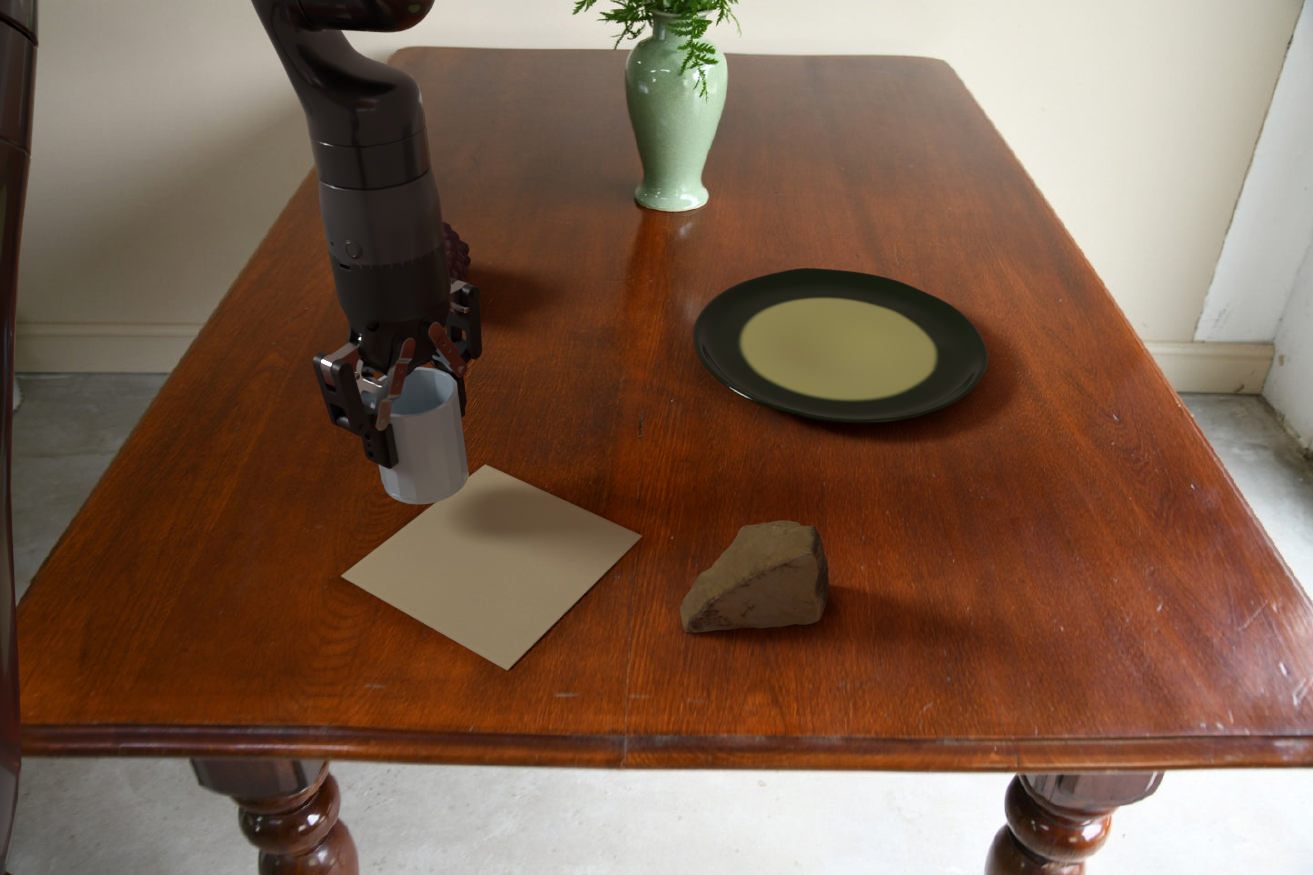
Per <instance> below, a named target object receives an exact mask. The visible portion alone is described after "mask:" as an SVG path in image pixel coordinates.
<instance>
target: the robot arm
mask: <svg viewBox="0 0 1313 875" xmlns="http://www.w3.org/2000/svg"><path fill="white" fill-rule="evenodd" d="M250 2H251V4H252V7H253V9H254V11H255V13H256V15H257V17H258V19H259V21H260V23H261V25H262V27H263V29H264V31H265V33H266V35H267V37H268V39H269V40H270V42H271V45H272V46H273V48H274V51H275V53H276V55H277V57H278V59H279V62H280V63H281V65H282V67H283V69H284V71H285V73H286V76H287V78H288V79H289V82H290V84H291V86H292V88H293V91H294V93H295V94H296V97H297V99H298V102H299V103H300V106H301V108H302V111H303V113H304V116H305V120H306V126H307V131H308V137H309V142H310V147H311V153H312V155H313V162H314V167H315V171H316V177H317V183H318V202H319V211H320V216H321V222H322V227H323V231H324V236H325V237H324V238H325V242H326V246H327V252H328V257H329V261H330V265H331V271H332V275H333V280H334V281H333V282H334V285H335V286H334V287H335V290H336V296H337V299H338V303H339V306H340V308H341V309H342V312H343V313H344V314H345V317H346V319H347V321H348V332H347V336H346V344H345V345H343V346H341V347H340V348H338V349H337V350H335V351H334V352H333V353H331V354H328V353H326V352H323V351H320V352H317V353H316V354H315V355H314V356H313V359H312V367H313V370H314V373H315V376H316V379H317V382H318V386H319V389H320V392H321V395H322V398H323V401H324V404H325V406H326V410H327V413H328V416H329V419H330V420H329V421H330V423H331V424H332V425H334V426H336V427H338V428H342V429H344V430H346V431H347V432H350V433H352V434H353V435H355V436H357V437H361V441H362V445H363V451H364V456H365V457H366V458H367V460H368V461H370V462H373V463H375V464H377V465H378V466H379V465H381V466H383V467H385V468H387V469H391V468H393V467H394V466H396V465H397V464H398V463H399V460H398V455H397V449H396V444H395V438H394V433H393V427H392V425H391V424H389V420H390V416H391V411H392V407H393V403H394V400H395V399H398V398H399V397H400V396H401V393H402V389H403V384H404V380H405V377H407V376H408V375H410V374H411V373H412V372H413V371H414V370H415V369H416V368H417V367H422V366H425V365H427V364H430V365H431V366H432V368H433V369H438V370H441V371H443V372H445V373H448V374H450V375H451V376H452V377H453V379H454V380H455V381H456V382H457V387H458V394H459V402H460V409H461V417H462V419H463V418H464V417H466V407H467V401H468V399H467V395H466V394H467V393H466V392H467V391H466V383H465V377H464V376H465V375H466V373H467V371H468V364H469V363H470V361H471V360H474V361H476V360H478V359H480V357H481V355H482V354H483V337H482V319H481V297H480V296H481V295H480V288H479V287H478V286H476V285H473V284H471V283H468V282H466V283H465V282H462V281H459V280H456V279H454V278H450V274H449V266H448V259H447V251H446V243H445V236H444V228H443V222H444V221H443V212H442V205H441V199H440V198H441V197H440V194H439V189H438V186H437V183H436V180H435V179H436V178H435V176H434V173H433V172H434V170H433V167H432V159H431V153H430V145H429V138H428V136H429V135H428V129H427V122H426V114H425V113H426V112H425V106H424V101H423V100H424V99H423V96H422V91H421V89H420V86H419V84H418V82H417V80H416V79H415V78H414V77H413V76H412V75H411V74H410V73H408V72H407V71H406V70H403V69H401V68H398V67H396V66H393V65H390V64H387V63H385V62H381V61H378V60H375V59H372V58H370V57H368V56H365V55H364V54H362V53H361V52H359V51H357V49H355V48H354V46H352V44H351V43H350V41H349V40H348V38H347V37H346V35H345V34H344V32H343V31H347V32H366V33H383V34H384V33H386V34H390V33H400V32H404V31H407V30H410V29H412V28H414V27H415V26H417V25H418V24H419V23H421V22H422V21H423V20H425V18H426V17H427V16H428V14H429V13H430V12H431V10H432V8H433V6H434V4H435V2H436V0H250ZM39 46H40V0H0V875H13V874H12V873H10V872H9V871H7V868H8V864H9V861H10V857H11V854H12V850H13V847H14V846H13V845H14V841H15V834H16V828H17V820H18V811H19V805H20V796H21V795H20V794H21V784H22V783H21V782H22V754H23V753H22V752H23V750H22V749H23V748H22V747H23V746H22V745H23V744H22V743H23V742H22V716H21V713H22V712H21V711H22V710H21V686H20V685H21V684H20V667H19V666H20V664H19V663H20V662H19V645H18V644H19V643H18V622H17V620H18V619H17V604H16V602H17V601H16V599H17V598H16V583H15V581H16V579H15V557H14V538H13V537H14V535H13V534H14V533H13V509H12V508H13V506H12V465H13V464H12V462H13V461H12V455H13V420H14V419H13V417H14V395H15V394H14V393H15V392H14V390H15V364H16V336H17V335H16V334H17V316H18V297H19V296H18V294H19V277H20V276H19V275H20V260H21V258H20V257H21V250H22V249H21V248H22V237H23V229H24V228H23V226H24V217H25V211H26V202H27V194H28V188H29V179H30V170H31V164H32V163H31V162H32V159H31V156H32V146H33V134H34V132H33V131H34V117H35V102H36V90H37V86H36V85H37V74H38V73H37V71H38V58H39V57H38V56H39V55H38V48H39ZM444 328H445V329H446V330H445V329H444ZM463 331H464V334H465V338H463ZM374 372H376V373H378V374H381V375H383V376H384V375H385V376H387V380H386V383H384V382H382V381H379V380H378V379H377V378H376V377H375V374H374ZM373 394H374V395H376V397H377V401H376V405H375V409H373V408H371V403H372V398H373Z"/></svg>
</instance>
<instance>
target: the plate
mask: <svg viewBox="0 0 1313 875" xmlns="http://www.w3.org/2000/svg"><path fill="white" fill-rule="evenodd" d="M692 343H693V347H694V350H695V352H696V355H697V357H698V359H699V361H700V362H701V364H702V365H703V366H704V368H705V369H706V370H707V371H708V372H709V373H710V374H711V375H712V377H714V378H715V379H716V380H717V381H719V382H720V383H721V384H722V385H723V386H725V387H726V388H727V389H729V390H731V391H733V392H734V393H735V394H738V395H739V396H741V397H743V398H744V399H747V400H749V401H751V402H753V403H756V404H758V405H761V406H764V407H767V408H769V409H772V410H776V411H780V412H784V413H787V414H791V415H794V416H799V417H802V418H806V419H811V420H816V421H822V422H827V423H836V424H853V425H854V424H855V425H856V424H857V425H859V424H861V425H865V424H866V425H867V424H883V423H884V424H886V423H893V422H901V421H908V420H911V419H917V418H920V417H924V416H928V415H931V414H933V413H936V412H939V411H942V410H944V409H947V408H949V407H951V406H953V405H954V404H957V403H958V402H960V401H961V400H963V399H965V397H966V396H968V395H969V394H970V393H971V392H972V391H973V390H974V389H975V388H976V387H977V385H978V384H979V383H980V382H981V380H982V378H983V377H984V375H985V373H986V370H987V368H988V365H989V352H988V349H987V346H986V343H985V341H984V339H983V336H982V335H981V333H980V331H979V330H978V328H977V327H976V325H975V324H973V322H972V321H971V320H970V319H969V317H968V316H966V315H965V314H964V313H963V312H962V311H960V310H959V309H958V308H956V307H955V306H953V305H952V304H950V303H949V302H947V301H945V300H943V299H941V298H939V297H937V296H936V295H933V294H930V293H928V292H926V291H924V290H921V289H919V288H917V287H915V286H912V285H910V284H907V283H905V282H902V281H899V280H896V279H893V278H890V277H886V276H880V275H877V274H872V273H866V272H861V271H852V270H842V269H841V270H840V269H831V268H817V267H814V268H813V267H800V268H793V269H787V270H782V271H777V272H773V273H768V274H764V275H759V276H757V277H753V278H750V279H747V280H744V281H741V282H739V283H737V284H735V285H731V286H730V287H728V288H727V289H724V290H723V291H721V292H720V293H718V294H717V295H716V296H714V298H712V299H711V300H710V301H709V302H708V303H707V304H705V306H704V308H703V309H702V310H701V311H700V312H699V314H698V316H697V318H696V320H695V322H694V325H693V330H692Z"/></svg>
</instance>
